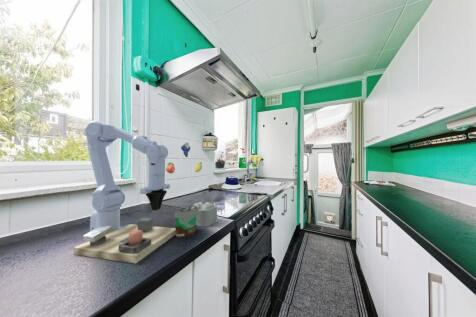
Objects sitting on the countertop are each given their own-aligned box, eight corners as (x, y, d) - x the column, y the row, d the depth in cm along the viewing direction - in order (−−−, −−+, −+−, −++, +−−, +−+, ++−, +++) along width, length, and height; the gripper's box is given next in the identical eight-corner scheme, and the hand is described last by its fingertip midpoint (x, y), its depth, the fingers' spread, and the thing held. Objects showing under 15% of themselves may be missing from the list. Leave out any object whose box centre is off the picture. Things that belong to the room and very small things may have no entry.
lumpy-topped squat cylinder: (205, 228, 71) (205, 207, 71) (184, 222, 77) (184, 203, 78) (219, 220, 80) (219, 202, 80) (199, 216, 86) (199, 199, 87)
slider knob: (137, 230, 62) (137, 220, 62) (143, 227, 65) (143, 217, 65) (146, 231, 61) (147, 221, 62) (152, 228, 64) (152, 218, 64)
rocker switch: (83, 240, 51) (82, 235, 50) (102, 229, 56) (102, 225, 56) (94, 242, 50) (93, 237, 50) (112, 230, 56) (112, 226, 55)
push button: (125, 244, 49) (125, 234, 49) (135, 239, 52) (135, 229, 52) (135, 245, 48) (136, 235, 48) (145, 240, 52) (145, 230, 52)
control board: (73, 254, 50) (73, 242, 50) (129, 228, 69) (129, 220, 69) (135, 263, 45) (136, 250, 45) (176, 233, 65) (177, 224, 65)
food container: (189, 241, 58) (189, 213, 59) (173, 240, 59) (174, 212, 60) (203, 228, 70) (203, 204, 71) (190, 227, 72) (190, 204, 72)
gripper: (152, 176, 57) (151, 215, 57) (176, 174, 72) (175, 205, 71) (135, 175, 59) (134, 214, 58) (161, 173, 73) (161, 204, 73)
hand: (156, 209), depth 65 cm, fingers closed
